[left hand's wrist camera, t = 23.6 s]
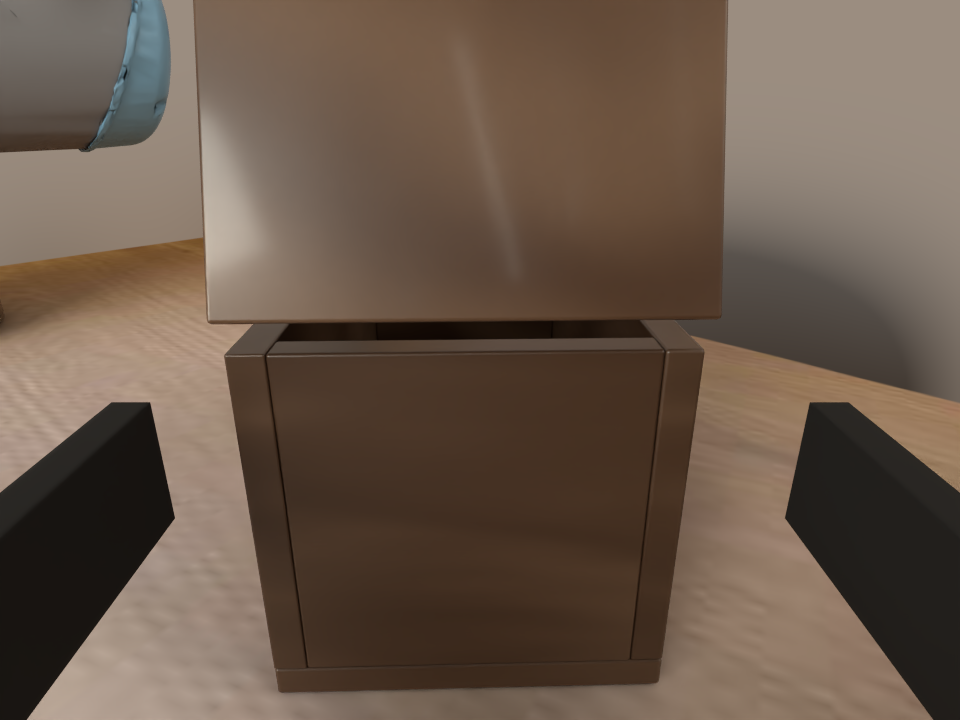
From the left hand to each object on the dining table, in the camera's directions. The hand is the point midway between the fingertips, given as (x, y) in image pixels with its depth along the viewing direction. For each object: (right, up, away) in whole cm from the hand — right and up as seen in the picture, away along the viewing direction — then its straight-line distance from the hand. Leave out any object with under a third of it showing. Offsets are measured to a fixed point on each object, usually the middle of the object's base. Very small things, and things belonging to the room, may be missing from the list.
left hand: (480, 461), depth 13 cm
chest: (0, -3, +10) cm, 11 cm away
